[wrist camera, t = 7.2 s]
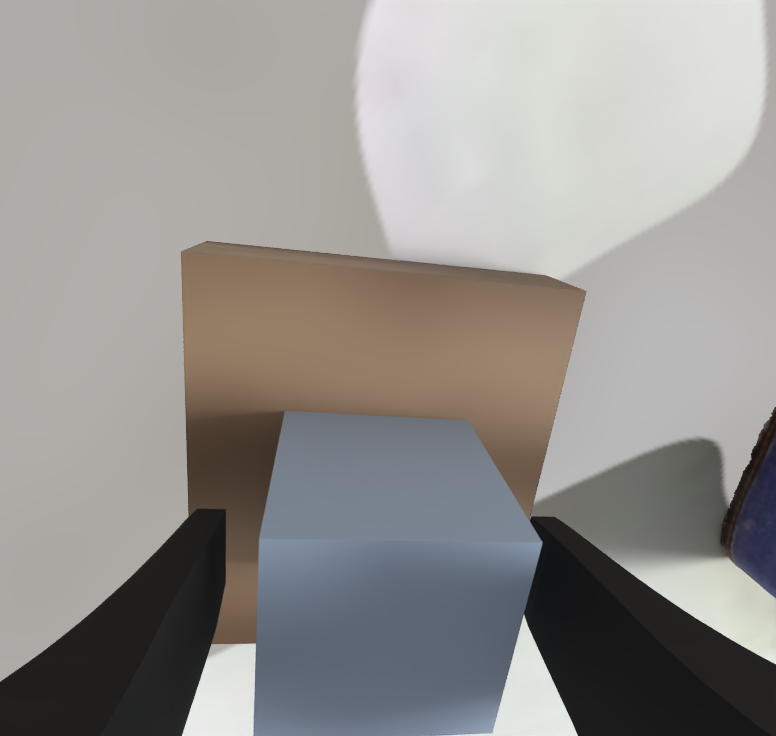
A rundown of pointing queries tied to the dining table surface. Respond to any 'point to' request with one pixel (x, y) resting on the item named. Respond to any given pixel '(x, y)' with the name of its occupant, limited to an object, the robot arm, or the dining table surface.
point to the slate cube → (387, 579)
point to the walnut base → (356, 370)
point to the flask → (755, 514)
